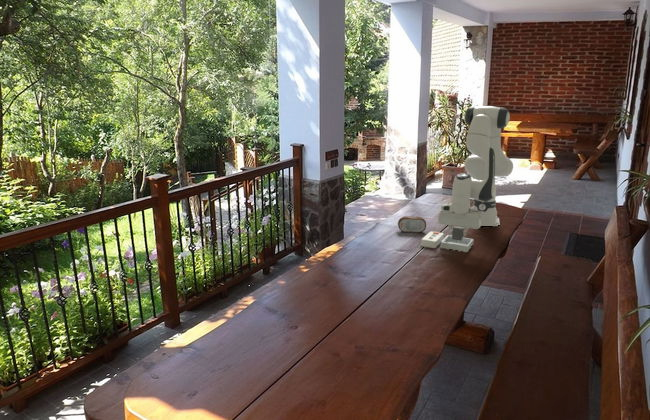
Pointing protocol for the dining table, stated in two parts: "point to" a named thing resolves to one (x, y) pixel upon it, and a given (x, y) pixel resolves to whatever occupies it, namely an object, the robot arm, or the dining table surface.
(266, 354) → the dining table surface
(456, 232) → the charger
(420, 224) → the tin
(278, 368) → the dining table surface
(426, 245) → the power strip
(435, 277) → the dining table surface
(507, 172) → the robot arm
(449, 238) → the tray
